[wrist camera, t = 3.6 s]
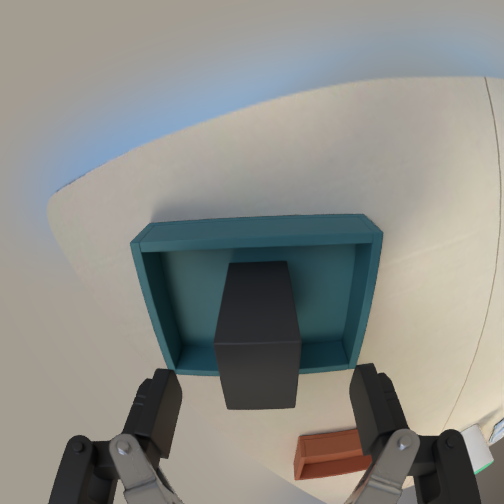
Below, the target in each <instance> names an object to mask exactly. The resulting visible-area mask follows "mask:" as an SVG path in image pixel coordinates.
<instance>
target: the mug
mask: <svg viewBox="0 0 504 504" xmlns="http://www.w3.org/2000/svg"><path fill="white" fill-rule="evenodd" d="M461 434H462V436H463V438H464V441H465V444H466V447H467V450H468V453H469V456H470V460H471V463H472V467H473V470H474V474H477V473H478V472H480V471H481V470H483V469H484V468H486V467H487V466H489V465H490V464H491V463H492V462H493V461H494V460H493V457H492V455H491V453H490V450H489V448H488V445H487V443H486V441H485V438H484V436H483V434H482V432H481V429H480V427H479V425H478V424H476V425H473V426H471V427H469V428H467V429H466V430H464V431H462V432H461Z"/></svg>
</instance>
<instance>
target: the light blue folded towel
mask: <svg viewBox="0 0 504 504" xmlns="http://www.w3.org/2000/svg"><path fill="white" fill-rule="evenodd" d="M503 436H504V419H503V420H502V421H501V422H500V423H498V424H497V425H495V427H494V431H493V434H492V436H491V438H490V440H489V443H491V442H492V444H493V443H495V442H496V441H497V440H499V439H500V438H501V437H503Z"/></svg>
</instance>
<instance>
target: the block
mask: <svg viewBox="0 0 504 504" xmlns="http://www.w3.org/2000/svg"><path fill="white" fill-rule="evenodd" d="M301 342H302V341H301V335H300V329H299V324H298V318H297V312H296V307H295V301H294V296H293V290H292V285H291V280H290V274H289V269H288V264H287V261H265V262H239V263H229V265H228V270H227V275H226V280H225V284H224V289H223V295H222V300H221V305H220V310H219V315H218V320H217V325H216V330H215V336H214V341H213V346H214V351H215V356H216V361H217V366H218V371H219V375H220V380H221V384H222V389H223V393H224V398H225V402H226V406H227V409H229V410H261V409H286V408H295V405H296V396H297V386H298V376H299V366H300V354H301Z"/></svg>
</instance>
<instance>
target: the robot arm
mask: <svg viewBox="0 0 504 504" xmlns="http://www.w3.org/2000/svg"><path fill="white" fill-rule="evenodd" d="M349 394H350V400H351V404H352V408H353V412H354V416H355V421H356V425H357V429H358V434H359V438H360V443H361V448H362V452H363V456H367V455H371V458H372V462H371V463H370V465H369V467H368V468H367V470H366V472H365V473H364V475H363V477H362V478H361V480H360V482H359V483H358V485H357V486H356V488H355V489H354V491H353V492H352V494H351V495H350V497H349V498H348V499H347V500H346V502H345V503H344V504H397V502H398V500H399V498H400V496H401V493H402V485H403V483H404V481H405V479H406V476H413V478H414V484H415V489H416V496H417V502H418V504H481V500H480V495H479V490H478V486H477V482H476V478H475V474H474V470H473V467H472V463H471V460H470V456H469V453H468V450H467V447H466V444H465V441H464V438H463V436H462V434H461V433H460V432H459V431H457V430H454V429H448V430H445V431H444V432H442V433H441V434H440V435H439V436H421V435H418V434H416V433H415V432H414V431H412V430H410V428H409V427H408V425H407V422H406V419H405V416H404V413H403V410H402V408H401V405H400V402H399V399H398V397H397V394H396V392H395V389H394V386H393V384H392V381H391V380H390V379H389V377H388V376H387V375H386V374H385V373H379V374H377V371H376V368H375V366H374V364H373V363H368V364H361V365H356V367H355V370H354V373H353V376H352V380H351V383H350V388H349ZM181 402H182V389H181V386H180V384H179V381H178V379H177V376H176V374H175V371H174V370H172V369H160V368H157V369H156V371H155V373H154V376H153V379H148V378H147V379H146V380H145V381H144V382H143V383H142V384H141V385H140V386H139V389H138V391H137V394H136V397H135V399H134V402H133V405H132V407H131V410H130V413H129V415H128V418H127V421H126V423H125V426H124V429H123V431H122V433H121V434H119V435H117V436H115V437H114V438H113V439H112V440H110V441H90V440H89V439H88V438H87V437H85V436H82V435H77V436H74V437H72V438H71V439H70V440H69V441H68V443H67V445H66V448H65V451H64V454H63V457H62V460H61V463H60V466H59V469H58V472H57V475H56V478H55V482H54V485H53V489H52V492H51V495H50V499H49V503H48V504H113V500H114V495H115V491H116V486H117V482H118V479H121V481H122V483H123V485H124V488H125V491H124V492H123V493H124V497H125V499H126V501H127V503H128V504H184V503H183V502H182V500H180V498H179V497H178V496H177V494H176V493H175V491H174V490H173V488H172V486H171V485H170V483H169V481H168V480H167V478H166V476H165V475H164V473H163V472H162V469H161V468H160V466H159V461H160V458H165V459H168V457H169V453H170V448H171V444H172V440H173V435H174V431H175V427H176V423H177V419H178V415H179V410H180V406H181Z"/></svg>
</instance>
